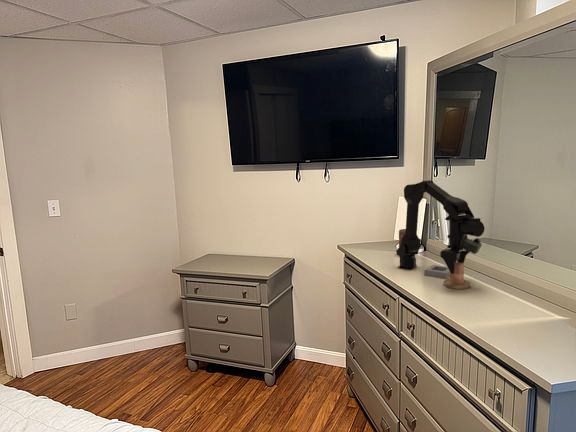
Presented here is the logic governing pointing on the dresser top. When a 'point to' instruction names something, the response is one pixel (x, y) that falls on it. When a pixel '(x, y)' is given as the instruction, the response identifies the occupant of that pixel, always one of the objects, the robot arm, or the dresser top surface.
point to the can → (401, 235)
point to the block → (457, 274)
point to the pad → (454, 286)
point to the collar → (437, 271)
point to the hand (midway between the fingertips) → (456, 270)
